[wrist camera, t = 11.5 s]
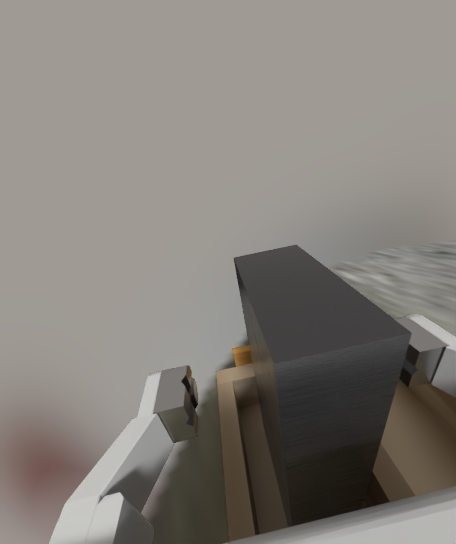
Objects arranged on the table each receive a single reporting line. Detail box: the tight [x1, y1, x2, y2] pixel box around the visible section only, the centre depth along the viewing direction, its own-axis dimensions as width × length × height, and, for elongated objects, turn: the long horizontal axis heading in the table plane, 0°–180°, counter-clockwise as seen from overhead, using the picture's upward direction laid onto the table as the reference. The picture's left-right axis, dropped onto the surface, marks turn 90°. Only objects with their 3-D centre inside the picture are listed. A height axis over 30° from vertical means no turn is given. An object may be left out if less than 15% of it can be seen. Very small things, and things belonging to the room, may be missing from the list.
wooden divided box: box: [216, 345, 456, 542], centre depth 11 cm, size 14×12×5 cm
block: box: [234, 245, 412, 527], centre depth 9 cm, size 2×5×12 cm, turn 8°
